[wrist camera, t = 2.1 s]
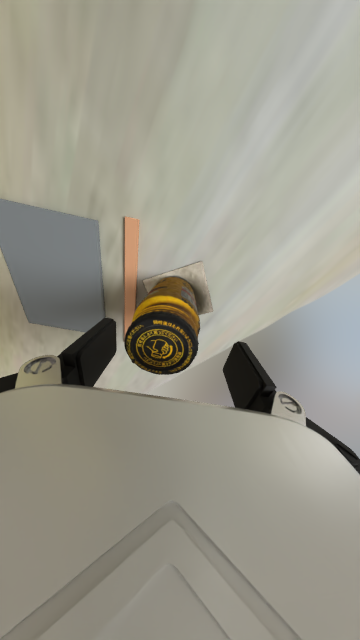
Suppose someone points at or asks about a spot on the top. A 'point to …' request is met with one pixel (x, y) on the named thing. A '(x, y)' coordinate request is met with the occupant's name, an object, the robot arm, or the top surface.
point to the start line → (130, 268)
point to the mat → (53, 265)
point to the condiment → (169, 320)
